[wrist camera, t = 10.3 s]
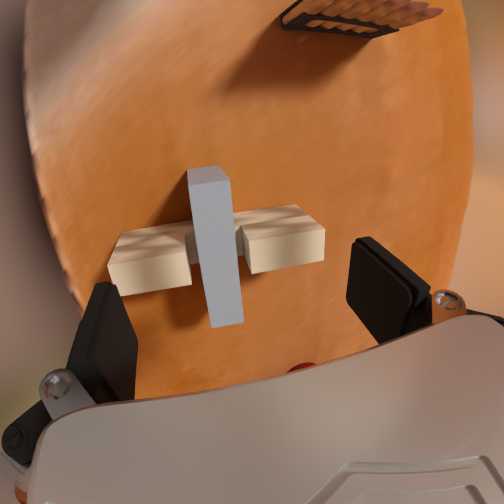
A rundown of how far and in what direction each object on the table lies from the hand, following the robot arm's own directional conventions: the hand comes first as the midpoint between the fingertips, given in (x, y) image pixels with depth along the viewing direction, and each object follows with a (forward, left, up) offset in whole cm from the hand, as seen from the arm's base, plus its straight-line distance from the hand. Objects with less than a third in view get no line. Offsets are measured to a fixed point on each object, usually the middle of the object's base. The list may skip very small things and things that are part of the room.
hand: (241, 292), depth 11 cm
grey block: (+5, 0, -19) cm, 19 cm away
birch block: (+5, 0, -19) cm, 19 cm away
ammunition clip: (-16, +14, -19) cm, 28 cm away
